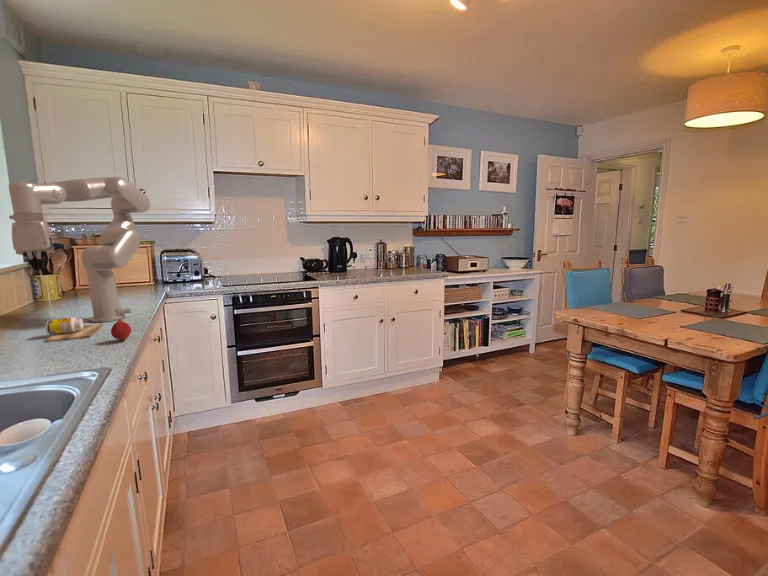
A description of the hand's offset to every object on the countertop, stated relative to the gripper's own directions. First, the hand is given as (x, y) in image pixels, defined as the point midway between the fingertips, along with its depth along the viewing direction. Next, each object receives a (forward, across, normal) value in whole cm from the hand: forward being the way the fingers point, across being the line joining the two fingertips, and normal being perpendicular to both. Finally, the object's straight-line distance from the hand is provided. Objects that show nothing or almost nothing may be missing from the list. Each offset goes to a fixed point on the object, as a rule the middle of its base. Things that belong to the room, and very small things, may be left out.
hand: (38, 269), depth 140 cm
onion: (+25, +27, -19) cm, 42 cm away
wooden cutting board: (+25, +8, 0) cm, 26 cm away
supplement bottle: (+21, 0, -1) cm, 21 cm away
